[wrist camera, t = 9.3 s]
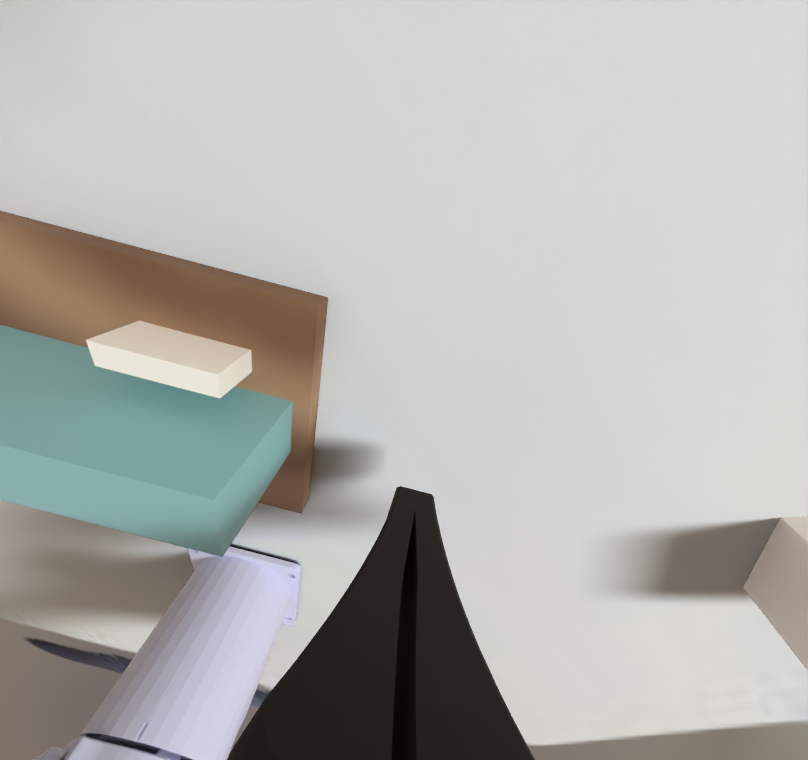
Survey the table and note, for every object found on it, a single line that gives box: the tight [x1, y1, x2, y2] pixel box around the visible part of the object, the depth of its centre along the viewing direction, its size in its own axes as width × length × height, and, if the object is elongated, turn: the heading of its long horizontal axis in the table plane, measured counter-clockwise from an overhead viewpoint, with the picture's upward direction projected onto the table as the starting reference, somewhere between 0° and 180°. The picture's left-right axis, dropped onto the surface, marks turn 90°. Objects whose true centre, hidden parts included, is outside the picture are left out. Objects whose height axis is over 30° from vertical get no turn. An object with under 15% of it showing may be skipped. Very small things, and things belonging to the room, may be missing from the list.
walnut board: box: [0, 211, 328, 513], centre depth 14 cm, size 12×24×1 cm, turn 77°
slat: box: [0, 325, 293, 557], centre depth 11 cm, size 3×16×5 cm, turn 77°
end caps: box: [86, 321, 252, 398], centre depth 13 cm, size 7×19×2 cm, turn 77°
